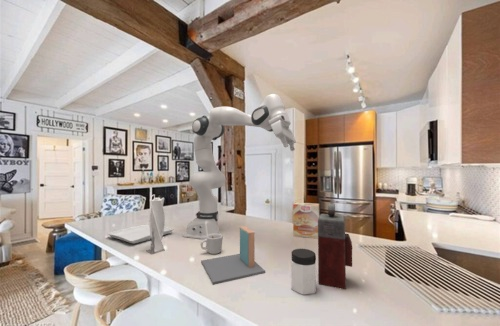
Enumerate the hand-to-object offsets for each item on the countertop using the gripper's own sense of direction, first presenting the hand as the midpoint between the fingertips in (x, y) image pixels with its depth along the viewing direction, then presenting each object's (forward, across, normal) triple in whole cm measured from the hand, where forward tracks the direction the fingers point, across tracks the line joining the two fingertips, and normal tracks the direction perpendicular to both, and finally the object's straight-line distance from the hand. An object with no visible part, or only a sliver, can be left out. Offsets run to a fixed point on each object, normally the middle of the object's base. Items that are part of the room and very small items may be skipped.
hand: (289, 148), depth 103 cm
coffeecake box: (+43, -39, -18) cm, 61 cm away
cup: (+36, +10, -51) cm, 63 cm away
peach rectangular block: (+43, +12, -31) cm, 54 cm away
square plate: (+17, +10, -102) cm, 104 cm away
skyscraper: (+28, +20, -77) cm, 84 cm away
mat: (+43, +18, -35) cm, 58 cm away
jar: (+54, +18, -7) cm, 58 cm away
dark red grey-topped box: (+56, +8, +2) cm, 57 cm away
